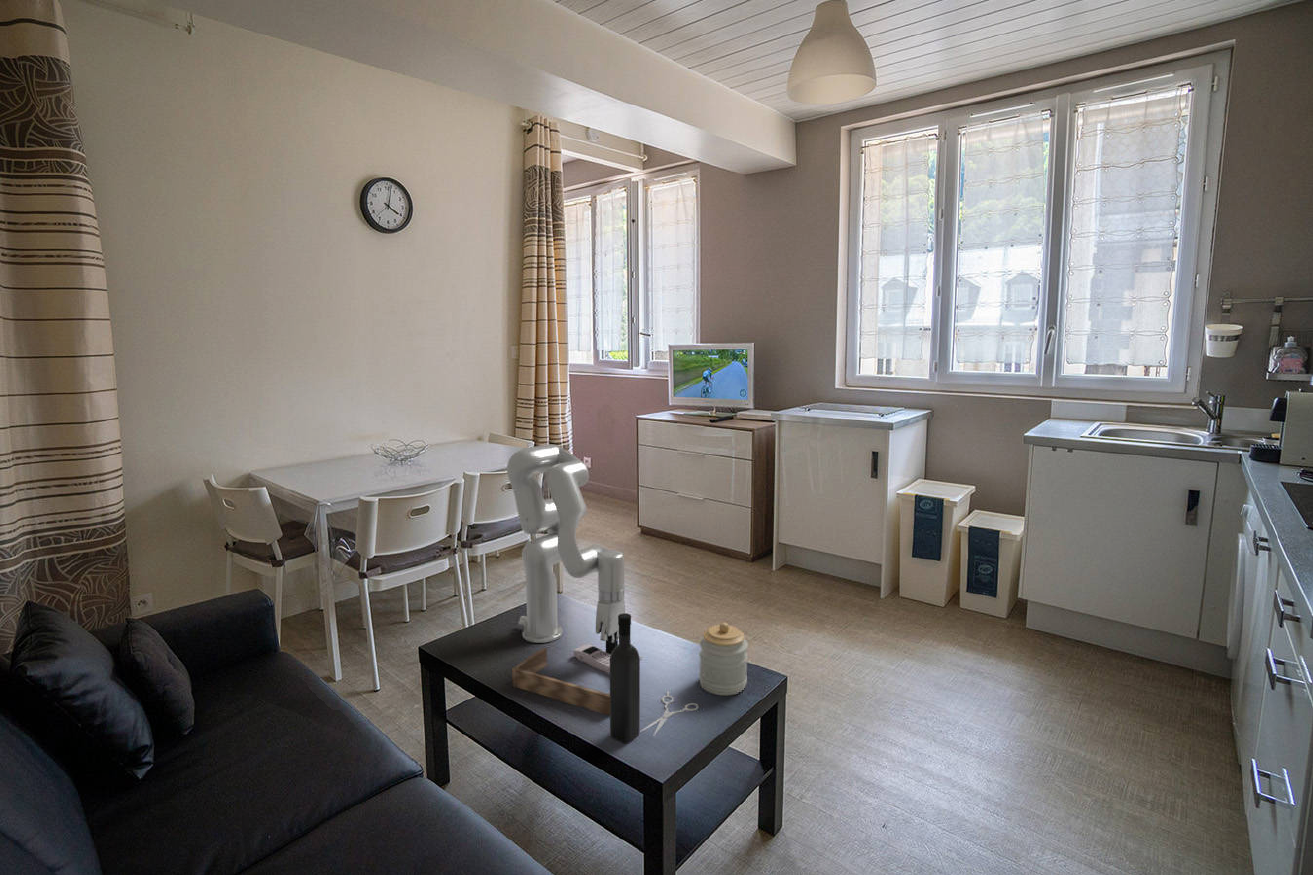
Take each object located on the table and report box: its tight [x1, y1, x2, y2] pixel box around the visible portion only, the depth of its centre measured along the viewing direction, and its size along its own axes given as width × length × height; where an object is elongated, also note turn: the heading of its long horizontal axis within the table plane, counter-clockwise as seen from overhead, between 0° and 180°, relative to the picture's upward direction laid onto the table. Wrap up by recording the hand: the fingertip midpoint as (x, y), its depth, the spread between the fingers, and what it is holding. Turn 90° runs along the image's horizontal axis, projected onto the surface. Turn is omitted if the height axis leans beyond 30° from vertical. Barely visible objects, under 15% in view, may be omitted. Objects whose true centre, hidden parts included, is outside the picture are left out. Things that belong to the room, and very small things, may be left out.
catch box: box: [511, 647, 610, 716], centre depth 181 cm, size 31×14×5 cm, turn 63°
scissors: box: [639, 691, 699, 738], centre depth 168 cm, size 11×1×20 cm
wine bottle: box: [609, 612, 641, 744], centre depth 158 cm, size 6×6×30 cm
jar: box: [698, 622, 749, 696], centre depth 182 cm, size 13×13×18 cm
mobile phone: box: [573, 643, 643, 675], centre depth 193 cm, size 6×6×25 cm
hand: (611, 653), depth 197 cm, fingers closed
